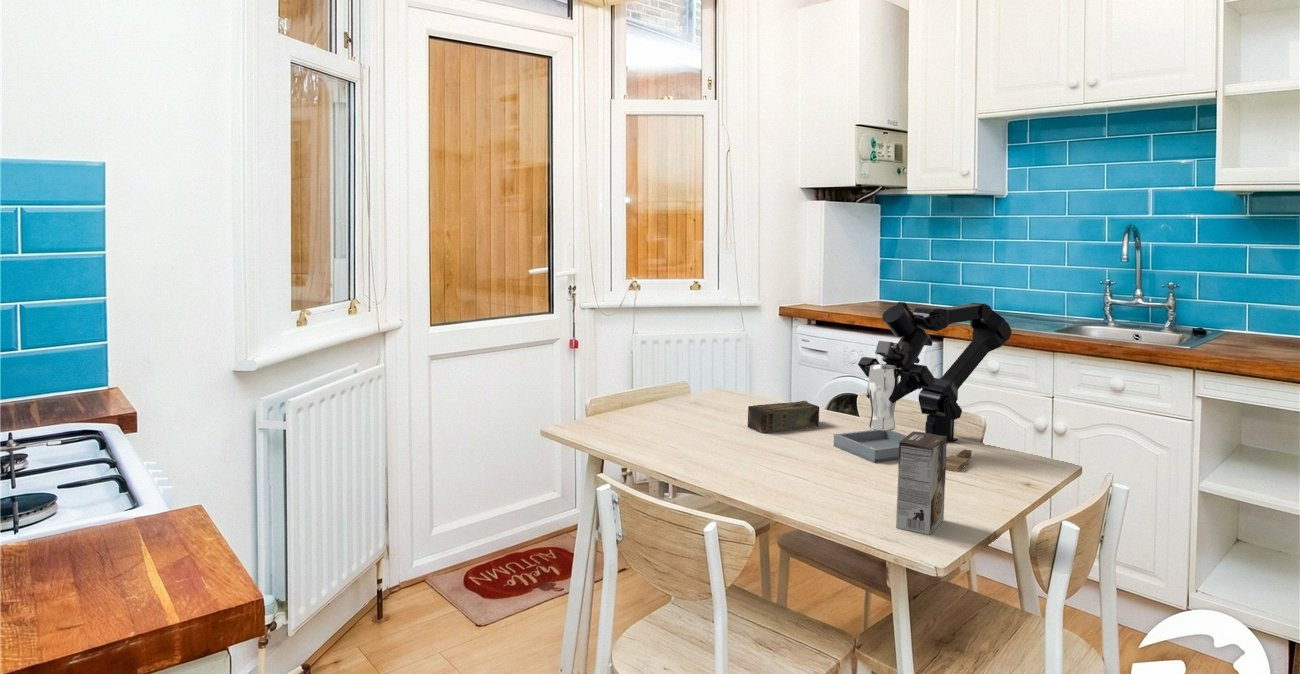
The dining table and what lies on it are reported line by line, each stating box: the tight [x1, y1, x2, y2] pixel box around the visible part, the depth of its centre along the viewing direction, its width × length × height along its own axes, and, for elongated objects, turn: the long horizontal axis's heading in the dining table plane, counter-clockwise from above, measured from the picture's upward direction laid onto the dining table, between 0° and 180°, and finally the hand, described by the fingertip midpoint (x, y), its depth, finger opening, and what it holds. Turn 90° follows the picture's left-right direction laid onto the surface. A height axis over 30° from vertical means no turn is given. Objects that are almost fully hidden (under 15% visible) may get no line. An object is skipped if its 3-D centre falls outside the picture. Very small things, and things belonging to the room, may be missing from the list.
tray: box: [833, 429, 908, 464], centre depth 193 cm, size 16×16×3 cm
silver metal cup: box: [867, 363, 900, 431], centre depth 190 cm, size 7×7×15 cm
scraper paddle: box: [946, 448, 972, 473], centre depth 183 cm, size 14×4×2 cm, turn 142°
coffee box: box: [895, 430, 948, 536], centre depth 144 cm, size 9×6×16 cm
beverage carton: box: [747, 400, 820, 434], centre depth 217 cm, size 8×19×7 cm, turn 115°
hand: (879, 399), depth 189 cm, fingers closed on silver metal cup, 6 cm apart
